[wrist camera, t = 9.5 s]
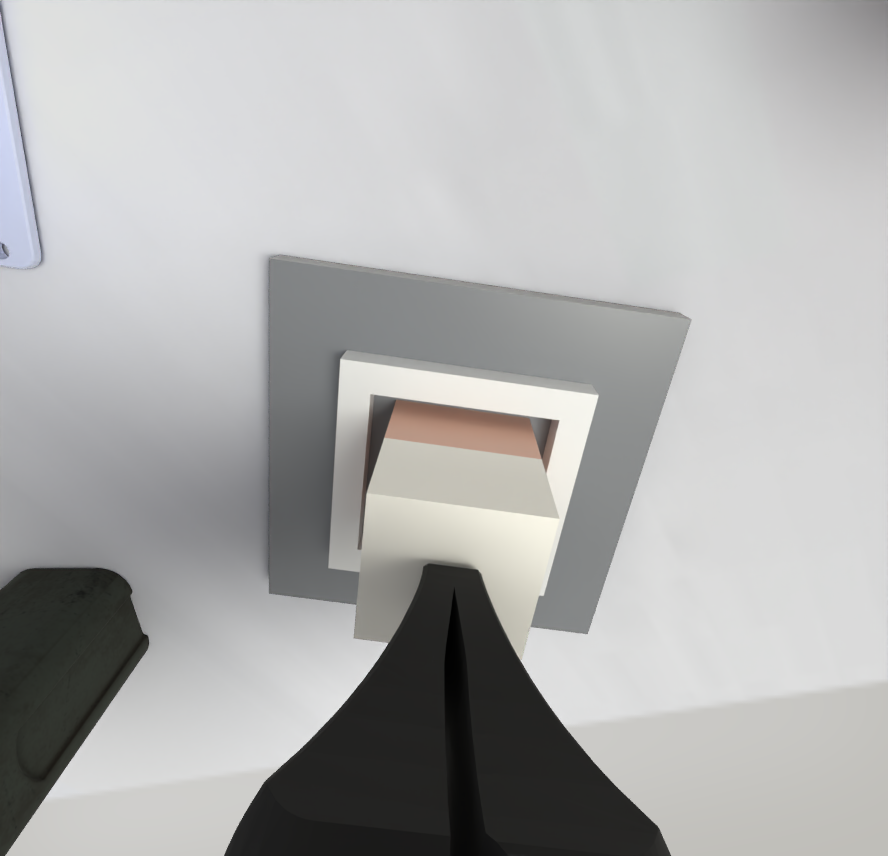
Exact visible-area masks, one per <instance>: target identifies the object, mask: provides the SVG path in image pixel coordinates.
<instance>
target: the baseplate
mask: <svg viewBox="0 0 888 856" xmlns="http://www.w3.org/2000/svg"><path fill="white" fill-rule="evenodd" d="M690 323H691V319H690V318H688V317H686V316H684V315H682V314H680V313H676V312H669V311H663V310H656V309H649V308H642V307H635V306H628V305H621V304H614V303H608V302H601V301H594V300H587V299H580V298H573V297H566V296H559V295H553V294H546V293H539V292H532V291H525V290H518V289H511V288H504V287H497V286H491V285H484V284H477V283H470V282H463V281H456V280H449V279H442V278H436V277H429V276H422V275H415V274H408V273H401V272H394V271H387V270H381V269H374V268H367V267H360V266H353V265H346V264H339V263H332V262H326V261H319V260H312V259H305V258H298V257H291V256H284V255H278V256H275V257H272V258H269V593H270V594H277V595H285V596H293V597H301V598H309V599H317V600H324V601H332V602H340V603H348V604H356V605H357V595H358V584H359V573H360V562H361V551H362V540H363V528H364V517H365V506H366V495H367V490H368V487H369V484H370V481H371V478H372V475H373V472H374V468H375V465H376V462H377V459H378V456H379V453H380V450H381V446H382V443H383V440H384V437H385V434H386V431H387V428H388V424H389V421H390V418H391V415H392V412H393V409H394V406H395V402H396V400H403V401H410V402H417V403H424V404H431V405H438V406H446V407H453V408H460V409H467V410H474V411H481V412H489V413H496V414H503V415H510V416H517V417H524V418H529V419H530V422H531V425H532V429H533V432H534V435H535V439H536V442H537V445H538V449H539V452H540V455H541V459H542V462H543V465H544V468H545V472H546V475H547V478H548V482H549V485H550V488H551V492H552V495H553V498H554V502H555V505H556V508H557V512H558V515H559V518H560V520H559V524H558V527H557V531H556V535H555V538H554V542H553V546H552V549H551V553H550V557H549V560H548V564H547V568H546V571H545V575H544V579H543V583H542V586H541V590H540V594H539V597H538V601H537V605H536V608H535V612H534V616H533V619H532V623H531V627H536V628H544V629H551V630H559V631H567V632H575V633H583V634H588V631H589V628H590V625H591V622H592V619H593V616H594V613H595V610H596V607H597V604H598V601H599V598H600V595H601V592H602V589H603V586H604V583H605V580H606V577H607V574H608V571H609V568H610V565H611V562H612V558H613V555H614V552H615V549H616V546H617V543H618V540H619V537H620V534H621V531H622V528H623V525H624V522H625V519H626V516H627V513H628V510H629V507H630V504H631V501H632V498H633V495H634V492H635V489H636V486H637V483H638V480H639V477H640V474H641V471H642V468H643V465H644V462H645V459H646V456H647V453H648V450H649V447H650V444H651V441H652V438H653V435H654V432H655V429H656V426H657V423H658V420H659V417H660V414H661V411H662V408H663V405H664V402H665V399H666V396H667V393H668V389H669V386H670V383H671V380H672V377H673V374H674V371H675V368H676V365H677V362H678V359H679V356H680V353H681V350H682V347H683V344H684V341H685V338H686V335H687V332H688V329H689V326H690Z"/></svg>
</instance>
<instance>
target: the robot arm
mask: <svg viewBox="0 0 888 856" xmlns="http://www.w3.org/2000/svg"><path fill="white" fill-rule="evenodd" d="M3 243H4V244H5V245H6V246H7V248H8V250H9V257H8V256H7V255H6V254H5V253H4V251H3V249H2V244H3ZM40 261H41V250H40V244H39V238H38V232H37V226H36V220H35V214H34V208H33V203H32V197H31V191H30V185H29V179H28V173H27V167H26V161H25V155H24V150H23V144H22V138H21V132H20V126H19V120H18V114H17V108H16V102H15V97H14V91H13V85H12V79H11V73H10V67H9V61H8V55H7V49H6V44H5V38H4V32H3V26H2V20H1V14H0V266H3V267H10V268H17V269H29V268H34V267H36V266H37V265H39V263H40ZM224 856H671V855H670V852H669V850H668V848H667V845H666V843H665V841H664V839H663V836H662V834H661V832H660V829H659V828H658V826H657V825H655V824H654V823H653V822H652V821H651V820H650V819H649V818H648V817H647V816H646V815H645V814H644V813H643V812H642V811H641V810H640V809H639V808H638V807H637V806H636V805H635V804H634V803H633V802H631V800H630V799H628V798H627V797H626V796H625V795H624V794H623V793H622V792H621V791H620V790H619V789H618V788H617V787H616V786H615V785H614V784H613V783H612V782H611V781H610V779H609V778H608V777H607V776H606V775H605V774H604V773H603V772H602V771H601V770H600V769H599V768H598V766H597V765H596V764H595V763H594V762H593V761H592V760H591V758H590V757H589V756H588V755H587V754H586V753H585V751H584V750H583V749H582V748H581V746H580V745H579V744H578V743H577V741H576V740H575V739H574V738H573V737H572V736H571V734H570V733H569V732H568V731H567V729H566V728H565V727H564V725H563V724H562V723H561V721H560V720H559V719H558V717H557V716H556V715H555V713H554V712H553V711H552V709H551V708H550V706H549V705H548V704H547V702H546V701H545V699H544V698H543V696H542V695H541V693H540V692H539V690H538V689H537V687H536V686H535V684H534V683H533V681H532V679H531V678H530V676H529V674H528V673H527V671H526V670H525V668H524V666H523V664H522V663H521V661H520V659H519V657H518V656H517V654H516V652H515V650H514V648H513V646H512V645H511V643H510V641H509V639H508V637H507V635H506V633H505V631H504V629H503V627H502V624H501V622H500V620H499V618H498V616H497V614H496V612H495V609H494V607H493V605H492V602H491V600H490V597H489V595H488V592H487V590H486V587H485V584H484V581H483V578H482V574H481V573H480V572H479V570H477V569H469V568H461V567H453V566H446V565H438V564H430V563H428V564H427V565H425V566H423V572H422V576H421V580H420V583H419V586H418V588H417V591H416V593H415V595H414V598H413V600H412V602H411V604H410V606H409V608H408V610H407V612H406V614H405V616H404V618H403V620H402V622H401V624H400V625H399V627H398V629H397V630H396V632H395V634H394V635H393V637H392V639H391V640H390V642H389V644H388V645H387V647H386V649H385V650H384V652H383V653H382V655H381V656H380V658H379V659H378V660H377V662H376V663H375V665H374V666H373V668H372V669H371V670H370V672H369V673H368V674H367V676H366V677H365V678H364V680H363V681H362V682H361V683H360V685H359V686H358V687H357V688H356V690H355V691H354V692H353V693H352V695H351V696H350V697H349V698H348V699H347V701H346V702H345V703H344V704H343V705H342V707H341V708H340V709H339V710H338V711H337V712H336V713H335V714H334V715H333V717H332V718H331V719H330V720H329V721H328V722H327V723H326V724H325V725H324V726H323V727H322V728H321V729H320V730H319V731H318V732H317V733H316V734H315V735H314V736H313V737H312V738H311V739H310V740H309V741H308V742H307V743H306V744H305V745H304V746H303V747H302V748H301V749H300V750H299V751H298V752H297V753H296V754H295V755H294V756H292V757H291V758H290V759H289V760H288V761H287V762H286V763H285V764H284V765H282V766H281V767H280V768H279V769H278V770H277V771H276V772H275V773H274V774H272V775H271V776H270V777H269V778H268V779H267V780H266V781H265V782H264V784H263V785H262V787H261V788H260V790H259V791H258V793H257V795H256V796H255V798H254V799H253V801H252V803H251V804H250V806H249V808H248V809H247V811H246V813H245V814H244V816H243V818H242V820H241V821H240V823H239V825H238V827H237V829H236V831H235V833H234V835H233V837H232V839H231V841H230V844H229V846H228V848H227V850H226V853H225V855H224Z"/></svg>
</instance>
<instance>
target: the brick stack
mask: <svg viewBox="0 0 888 856" xmlns="http://www.w3.org/2000/svg"><path fill="white" fill-rule="evenodd" d="M559 520H560V518H559V515H558V512H557V508H556V505H555V502H554V498H553V495H552V492H551V488H550V485H549V482H548V478H547V475H546V472H545V468H544V465H543V462H542V459H541V455H540V452H539V449H538V445H537V442H536V439H535V435H534V432H533V429H532V425H531V422H530V419H529V418H524V417H517V416H510V415H503V414H496V413H489V412H481V411H474V410H467V409H460V408H453V407H446V406H438V405H431V404H424V403H417V402H410V401H403V400H396V402H395V406H394V409H393V412H392V415H391V418H390V421H389V424H388V428H387V431H386V434H385V437H384V440H383V443H382V446H381V450H380V453H379V456H378V459H377V462H376V465H375V468H374V472H373V475H372V478H371V481H370V484H369V487H368V490H367V495H366V506H365V517H364V528H363V540H362V551H361V562H360V573H359V584H358V595H357V606H356V618H355V629H354V638H355V639H363V640H371V641H379V642H387V643H389V642H390V640H391V639H392V637H393V635H394V634H395V632H396V630H397V629H398V627H399V625H400V624H401V622H402V620H403V618H404V616H405V614H406V612H407V610H408V608H409V606H410V604H411V602H412V600H413V598H414V595H415V593H416V591H417V588H418V586H419V583H420V580H421V576H422V572H423V566H425V565H427V564H428V563H430V564H438V565H446V566H453V567H461V568H469V569H477V570H479V572H480V573H481V574H482V578H483V581H484V584H485V587H486V590H487V592H488V595H489V597H490V600H491V602H492V605H493V607H494V609H495V612H496V614H497V616H498V618H499V620H500V622H501V624H502V627H503V629H504V631H505V633H506V635H507V637H508V639H509V641H510V643H511V645H512V646H513V648H514V650H515V652H516V654H517V656H518V657H519V659H521V660H522V656H523V653H524V649H525V645H526V641H527V638H528V634H529V630H530V627H531V623H532V619H533V616H534V612H535V608H536V605H537V601H538V597H539V594H540V590H541V586H542V583H543V579H544V575H545V571H546V568H547V564H548V560H549V557H550V553H551V549H552V546H553V542H554V538H555V535H556V531H557V527H558V524H559Z"/></svg>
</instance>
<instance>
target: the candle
mask: <svg viewBox="0 0 888 856" xmlns="http://www.w3.org/2000/svg"><path fill="white" fill-rule="evenodd" d="M131 594H132V590H131V588H130V586H129V584H128V583H127V582H126V581H125V580H124V579H123V578H122V577H120V576H119V575H118V574H116V573H114V572H112V571H108V570H105V569H29V570H25V571H23V572H21V573H20V574H19V575H18V576H16V577H15V578H14V579H13V580H12V581H11V582H9V583H8V584H7V585H6V586H5V587H4V588H2V589H1V590H0V856H5V855H6V854H7V852H8V851H9V849H10V848H11V846H12V845H13V843H14V842H15V841H16V839H17V838H18V836H19V835H20V833H21V832H22V830H23V829H24V828H25V826H26V825H27V823H28V822H29V820H30V819H31V817H32V816H33V814H34V813H35V812H36V810H37V809H38V807H39V806H40V804H41V803H42V801H43V800H44V799H45V797H46V796H47V794H48V793H49V791H50V790H51V788H52V787H53V786H54V784H55V783H56V781H57V780H58V778H59V777H60V775H61V774H62V772H63V771H64V770H65V768H66V767H67V765H68V764H69V762H70V761H71V759H72V758H73V757H74V755H75V754H76V752H77V751H78V749H79V748H80V746H81V745H82V744H83V742H84V741H85V739H86V738H87V736H88V735H89V733H90V732H91V730H92V729H93V728H94V726H95V725H96V723H97V722H98V720H99V719H100V717H101V716H102V715H103V713H104V712H105V710H106V709H107V707H108V706H109V704H110V703H111V701H112V700H113V699H114V697H115V696H116V694H117V693H118V691H119V690H120V688H121V687H122V686H123V684H124V683H125V681H126V680H127V678H128V677H129V675H130V674H131V673H132V671H133V670H134V668H135V667H136V665H137V664H138V662H139V661H140V659H141V658H142V657H143V655H144V654H145V652H146V651H147V649H148V646H149V641H148V637H147V636H145V635H143V634H142V631H141V628H140V625H139V622H138V619H137V616H136V613H135V610H134V608H133V605H132V602H131V599H130V595H131Z"/></svg>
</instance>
